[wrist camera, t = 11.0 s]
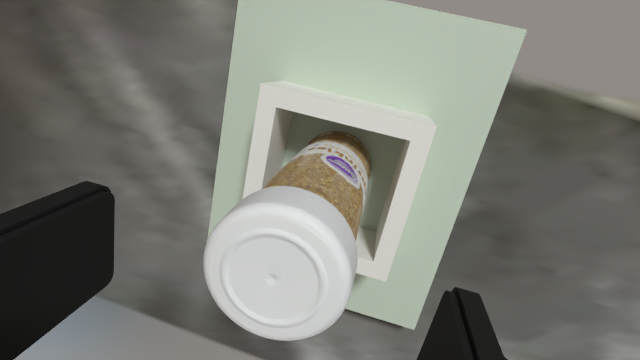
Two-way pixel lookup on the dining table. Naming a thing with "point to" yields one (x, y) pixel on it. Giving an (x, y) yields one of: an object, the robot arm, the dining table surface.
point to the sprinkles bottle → (293, 243)
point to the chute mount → (368, 122)
